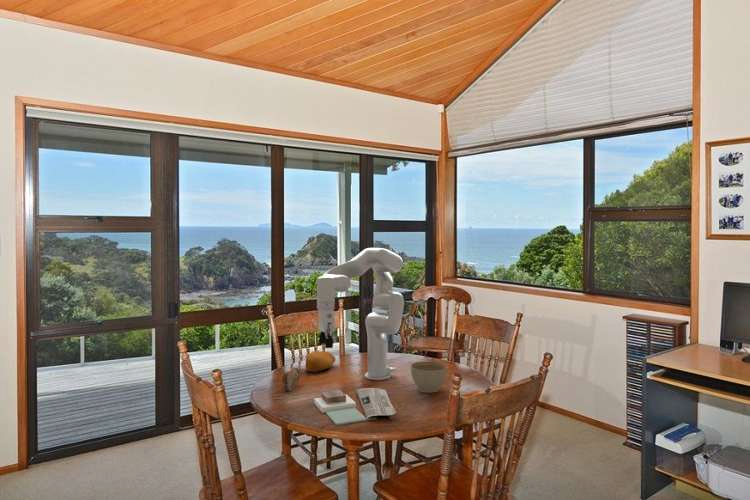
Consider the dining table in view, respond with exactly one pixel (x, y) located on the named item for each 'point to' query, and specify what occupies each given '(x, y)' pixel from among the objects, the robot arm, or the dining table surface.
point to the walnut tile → (333, 396)
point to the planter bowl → (428, 375)
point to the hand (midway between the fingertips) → (326, 345)
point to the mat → (345, 416)
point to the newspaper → (375, 403)
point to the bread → (319, 360)
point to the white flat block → (334, 404)
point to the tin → (290, 379)
